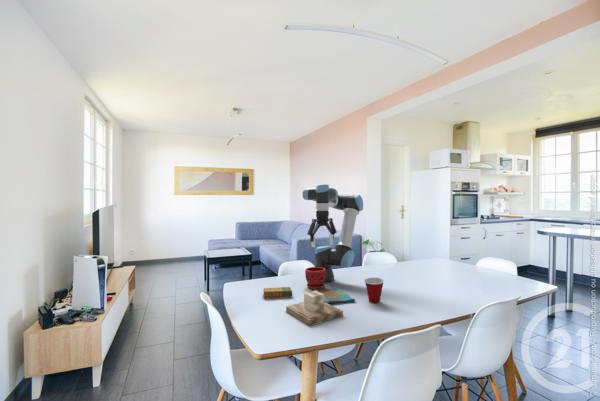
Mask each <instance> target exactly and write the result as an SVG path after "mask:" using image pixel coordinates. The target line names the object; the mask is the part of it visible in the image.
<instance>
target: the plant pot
mask: <svg viewBox="0 0 600 401" xmlns="http://www.w3.org/2000/svg"><path fill="white" fill-rule="evenodd" d="M304 272H305V280H306V282H307V283H306V286H307V288H309V289H310V290H321V289H325V287H326V284H325V282H324V281H325V277H326V269H325V268H322V267H315V266H312V267H307V268H305V270H304Z"/></svg>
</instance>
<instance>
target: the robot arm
mask: <svg viewBox="0 0 600 401" xmlns="http://www.w3.org/2000/svg"><path fill="white" fill-rule="evenodd" d="M329 186H330V185H329V184H326V183H324V184H317V185H316V187H315V188H311V187H310V188H304V189H302V190H303V191H302V198H303V199H304V200H305V201H313V202H315V203H316V204H315V208H316V211H315V217H316V218H311V224H310V226H309V228H308V231H307V235H308V236H310V237H309V238H310V239H309V240H310V242H311V243H310V244H311V245H310V246H311V248H315V253H314V256H315V257H314V258H315V260H314V267H322V268H325V269H326V277H325V281H324V283H331V282H333V281H335V274H334V271H333V267H339V268H340V267H341V268H350V267H351V266H352V265H353V262H354V260H355V252H354V251H353V248H352V243H353V242H352V241H353V236H354V232H355V231H354V230H355V225H356V221H357V216H358V215H360V212H362V211H363V210H364V201H363V200H364V199H363V198H362V196H361V195H360V194H339V192H338V190H337V189H335V188H334V187H329ZM330 208H331V209H334V210H335V209H336V210H338V211H343V213H344V215H343V221H342V225H341V230H340V234H339V238H338V243H337V244H336V245H335V247H334V248H333V246H334V239H335V235H336V234H337V229H336V226H335V224H334V220H333V218H332V217H330V216H329V215H330V212H329V210H330ZM320 227H325V228H326V229H327V230H328V232H329V234H328V236H329V238H328V240H329V241H328V243H329V244H328V245H322V246H317V247H316V236H315V235H316V234H317V232H318V230H319V228H320Z"/></svg>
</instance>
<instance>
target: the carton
mask: <svg viewBox="0 0 600 401" xmlns="http://www.w3.org/2000/svg"><path fill="white" fill-rule="evenodd" d="M263 298H264V299H265V300H266V299H279V298H280V299H283V298H285V299H286V298H293V290H292V288H291V287H290V286H283V287H282V286H280V287H278V286H277V287H263Z"/></svg>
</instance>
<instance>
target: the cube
mask: <svg viewBox="0 0 600 401" xmlns="http://www.w3.org/2000/svg"><path fill="white" fill-rule="evenodd" d="M303 297H304V298H303V302H304V307H305V308H307V309H308V310H310V311H312V312H313V311H317V310H321V309H324V294H322V293H320V292H318V291H314V290H311V291H308V292H304V294H303Z"/></svg>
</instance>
